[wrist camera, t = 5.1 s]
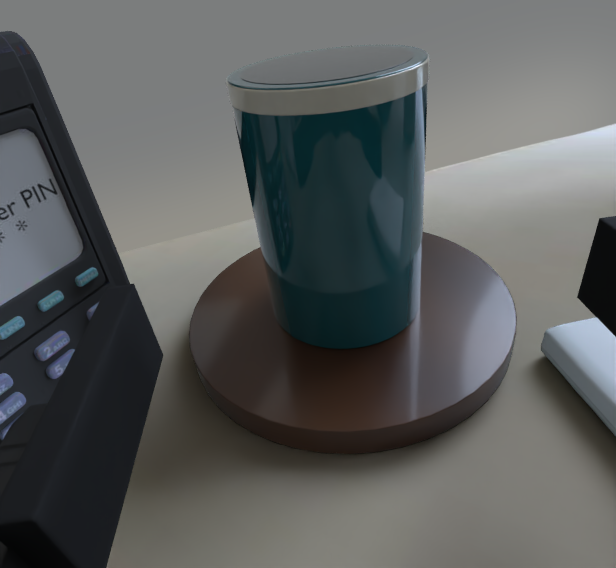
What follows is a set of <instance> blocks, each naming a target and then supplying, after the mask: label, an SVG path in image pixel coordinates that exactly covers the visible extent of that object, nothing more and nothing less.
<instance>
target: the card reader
mask: <svg viewBox="0 0 616 568" xmlns="http://www.w3.org/2000/svg"><path fill="white" fill-rule="evenodd" d="M128 284H130V283H129V280H128V278H127V275H126V272H125V270H124V267H123V264H122V262H121V260H120V257H119V255H118V252H117V250H116V247H115V245H114V243H113V240H112V238H111V235H110V233H109V230H108V228H107V226H106V223H105V221H104V219H103V216H102V213H101V211H100V209H99V206H98V204H97V201H96V199H95V196H94V194H93V192H92V189H91V187H90V184H89V182H88V180H87V177H86V175H85V172H84V170H83V167H82V165H81V163H80V160H79V158H78V155H77V153H76V151H75V148H74V145H73V143H72V141H71V138H70V136H69V133H68V131H67V128H66V126H65V124H64V121H63V119H62V116H61V114H60V111H59V109H58V107H57V104H56V102H55V100H54V97H53V95H52V92H51V90H50V88H49V85H48V83H47V81H46V78H45V76H44V73H43V71H42V69H41V66H40V64H39V62H38V60H37V59H36V56H35V54H34V53H33V51H32V50H31V48H30V47H29V46H28V44H27V43H26V41H25V40H24V39H23V38H22V37H21V36H19V35H18V34H17V33H15V32H12V31H5V32H0V444H1V442H2V440H3V439H4V437H5V435H6V433H7V432H8V430H9V428H10V426H11V425H12V424H13V423H14V422H15V421H16V420H17V419H18V418H19V417H20V416H21V415H22V414H23V413H24V412H25V411H26V409H27V408H28V407H29V406H30V405H36V404H43V403H48V402H49V400H50V398H51V396H52V394H53V392H54V390H55V388H56V386H57V384H58V382H59V380H60V378H61V376H62V374H63V372H64V370H65V368H66V367H67V365H68V363H69V361H70V359H71V357H72V355H73V353H74V351H75V349H76V347H77V345H78V343H79V341H80V339H81V337H82V335H83V333H84V331H85V329H86V327H87V325H88V323H89V321H90V319H91V317H92V315H93V313H94V311H95V309H96V307H97V306H98V304H99V302H100V300H101V298H102V296H103V294H104V292H105V290H106V288H107V287H114V286H121V285H128Z"/></svg>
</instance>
